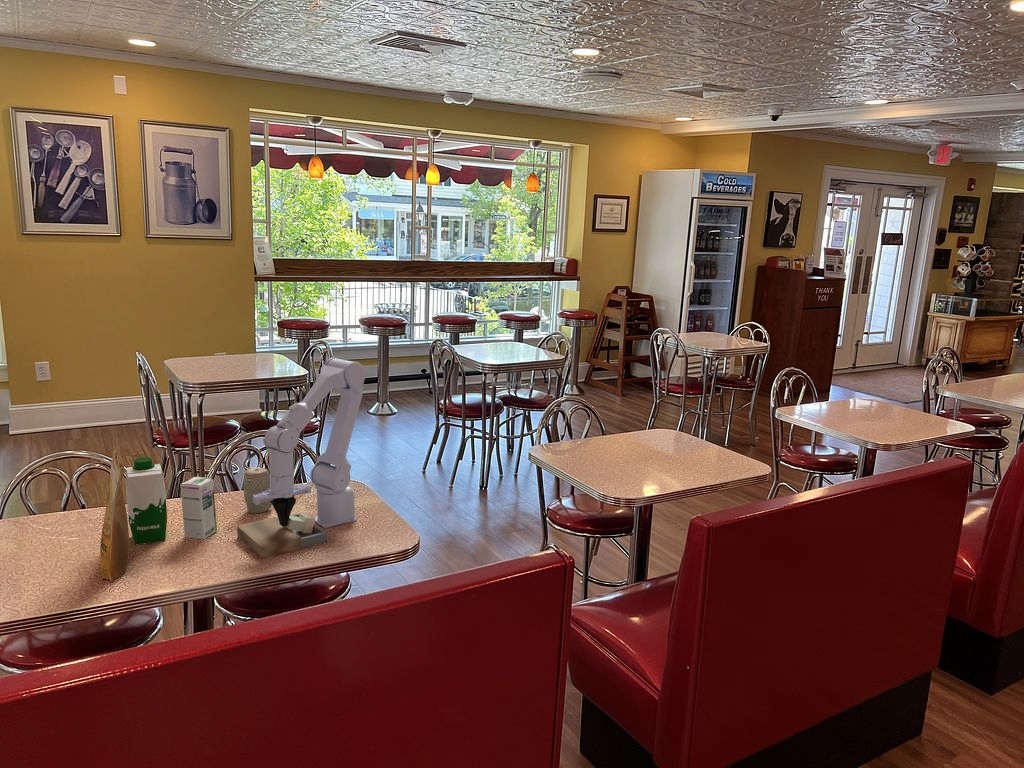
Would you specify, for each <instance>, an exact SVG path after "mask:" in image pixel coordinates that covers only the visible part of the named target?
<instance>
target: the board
mask: <svg viewBox="0 0 1024 768" xmlns="http://www.w3.org/2000/svg"><path fill="white" fill-rule="evenodd" d="M277 518H278V517H276V516H274V517H271V518H266V519H259V520H256V521H252V522H247V523H244V524H239V525H237V526H236V529H237V538H239V540H241V541H242V543H244V544H245V545H246V546H247V547H248V548H250V550H252V551H253V552H254V553H255V554H256V555H257V556H258V557H259V558H260V559H261V560H263V559H267V558H271V557H275V556H278V555H282V554H286V553H291V552H293V551H297V550H298V551H299V550H301V537H300V536H299V535H297V534H296V533H295V532H293V531H292V530H290V529H288V528H286V527H285V526H284V527H283V526H281V525H280V523H279V520H278V519H277Z"/></svg>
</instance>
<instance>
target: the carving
mask: <svg viewBox="0 0 1024 768" xmlns="http://www.w3.org/2000/svg"><path fill="white" fill-rule="evenodd" d="M268 490H270V470H269V469H267V468H265V467H264V468H263V467H250V468H248V469H246V470H245V471H244V474H243V499H244V502H245V505H246V506H245V507H246V509H247V511H248V512H249V513H250V514H260V513H264V512H266V511H268V510H269V509H271V508H272V507H273V505H272V503H271V502H270V501H267V502H262V503H260V504H258V505H256V504H254V503H253V495H256V494H259V493H262V492H265V491H268Z"/></svg>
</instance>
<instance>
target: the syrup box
mask: <svg viewBox="0 0 1024 768" xmlns="http://www.w3.org/2000/svg"><path fill="white" fill-rule="evenodd" d="M180 496H181V508H182V509H181V510H182V519H183V530H184V531H183V532H184V533H183V535H184V538H190V539H196V540H197V539H198V540H205V539H207V538H209V537H210V536H212V535H213V534H214V533H215V532H217V531H218V527H217V516H216V515H217V514H216V512H217V511H216V502H215V485H214V479H213V478H211V477H204V476H202V477H201V476H193V477H191V478H190V479H188V480H187V481H184V482H182V483H180Z"/></svg>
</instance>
